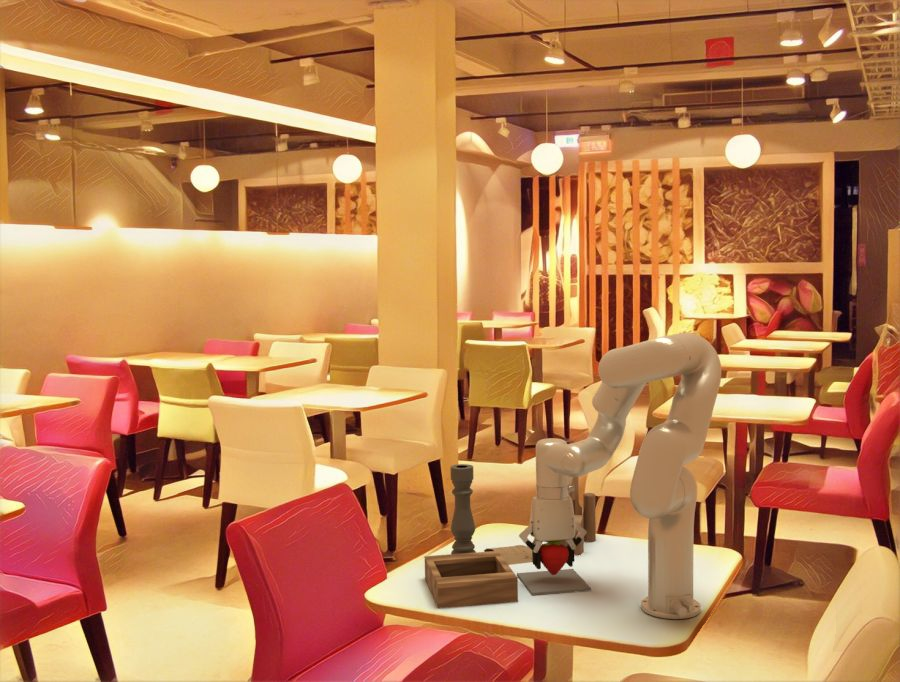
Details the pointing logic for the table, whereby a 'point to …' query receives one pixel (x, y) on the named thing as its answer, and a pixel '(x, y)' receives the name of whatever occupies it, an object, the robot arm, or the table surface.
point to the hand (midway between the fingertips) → (553, 565)
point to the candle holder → (462, 509)
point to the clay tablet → (514, 554)
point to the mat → (553, 582)
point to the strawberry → (553, 556)
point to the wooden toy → (587, 516)
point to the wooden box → (470, 579)
